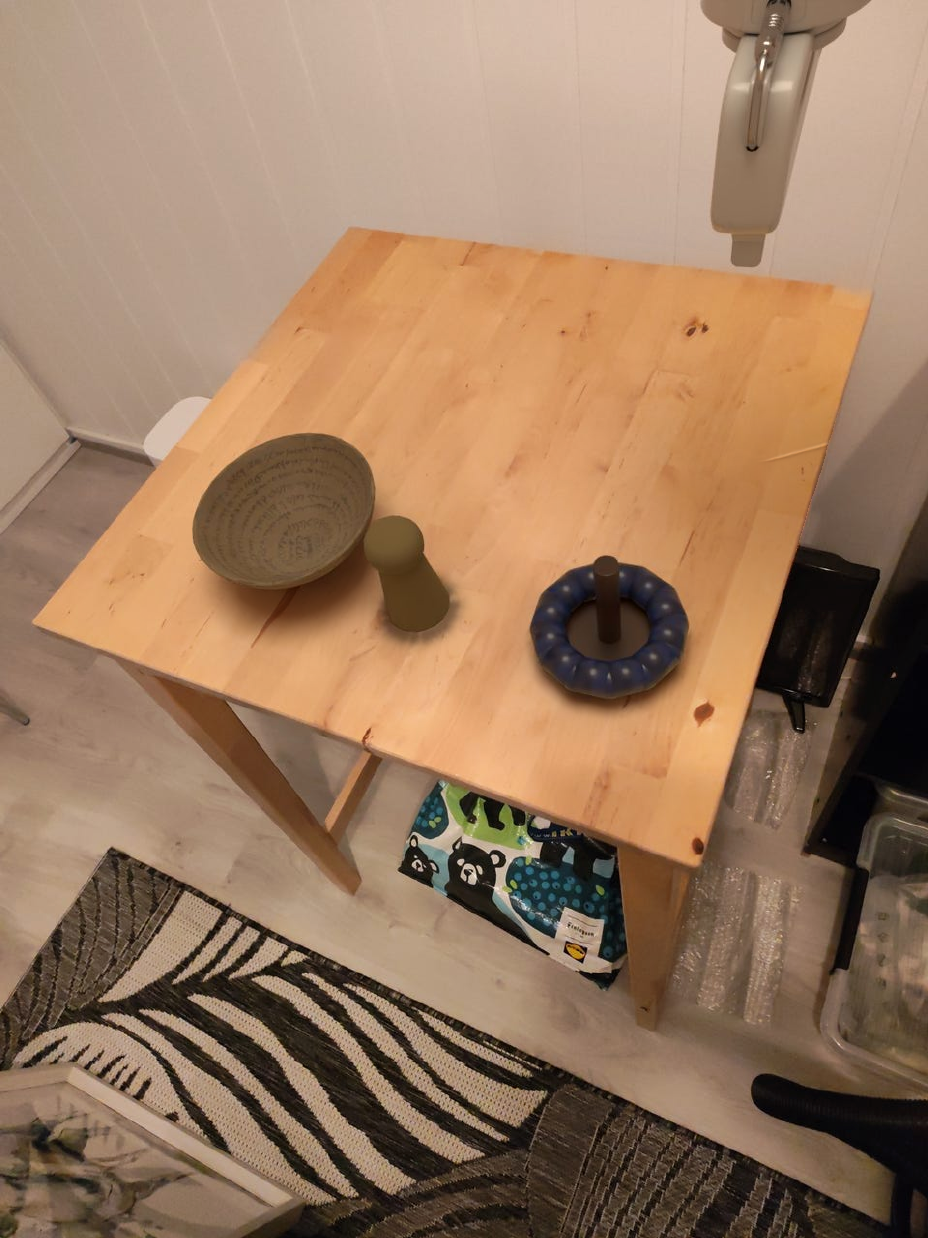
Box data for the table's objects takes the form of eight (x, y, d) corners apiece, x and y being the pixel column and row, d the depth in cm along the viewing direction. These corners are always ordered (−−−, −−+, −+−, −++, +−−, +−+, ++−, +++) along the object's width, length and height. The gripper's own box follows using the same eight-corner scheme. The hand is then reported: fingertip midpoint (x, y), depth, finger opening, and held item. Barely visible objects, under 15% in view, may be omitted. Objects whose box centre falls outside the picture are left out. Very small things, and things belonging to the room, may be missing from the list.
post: (640, 592, 73) (640, 513, 64) (669, 666, 68) (674, 593, 59) (554, 615, 73) (542, 539, 64) (577, 690, 69) (568, 620, 59)
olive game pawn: (458, 584, 77) (434, 509, 68) (436, 637, 74) (408, 566, 65) (400, 574, 79) (370, 499, 70) (377, 625, 76) (342, 554, 67)
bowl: (191, 607, 81) (152, 560, 75) (273, 473, 90) (244, 420, 83) (352, 645, 75) (325, 597, 69) (423, 498, 84) (405, 442, 77)
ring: (657, 559, 73) (658, 539, 71) (708, 681, 66) (711, 662, 63) (518, 596, 74) (514, 576, 71) (554, 720, 66) (551, 703, 64)
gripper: (837, 54, 35) (787, 322, 46) (876, -128, 45) (827, 131, 56) (689, 59, 37) (676, 315, 48) (757, -116, 47) (733, 132, 58)
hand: (758, 215), depth 52 cm, fingers open, 8 cm apart
